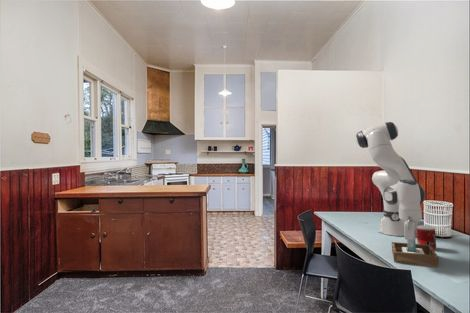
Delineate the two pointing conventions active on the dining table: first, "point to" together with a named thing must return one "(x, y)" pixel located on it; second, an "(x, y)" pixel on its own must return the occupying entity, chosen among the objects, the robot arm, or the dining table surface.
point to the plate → (418, 251)
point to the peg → (411, 249)
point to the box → (415, 255)
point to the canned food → (426, 236)
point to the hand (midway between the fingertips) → (411, 245)
